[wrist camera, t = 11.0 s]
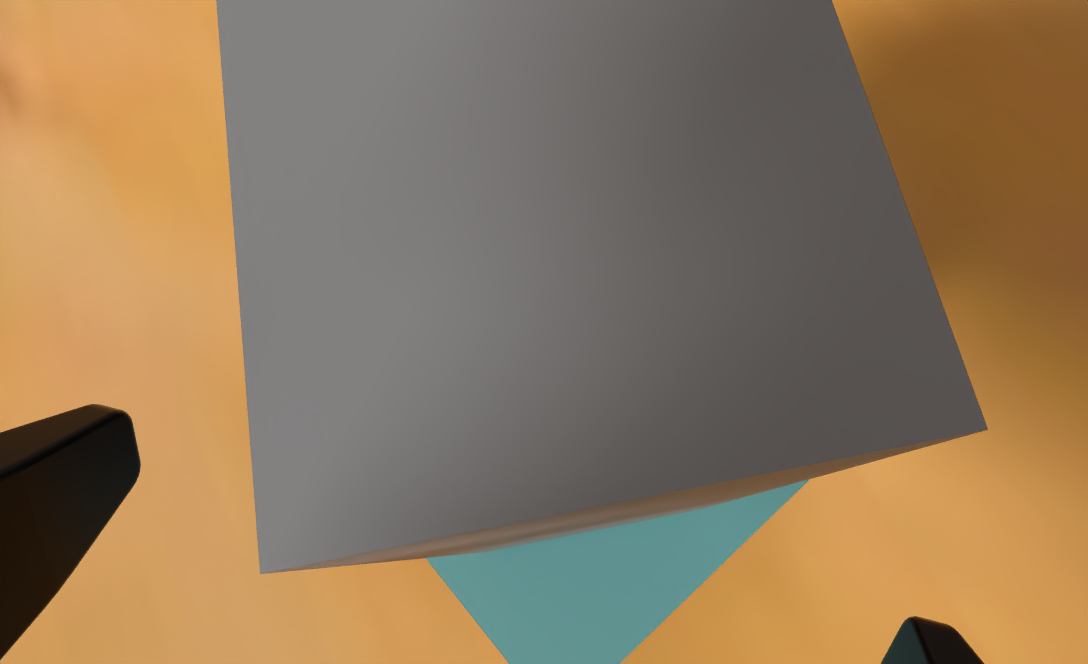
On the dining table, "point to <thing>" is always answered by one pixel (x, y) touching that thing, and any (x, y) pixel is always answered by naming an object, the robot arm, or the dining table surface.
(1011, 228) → the dining table surface
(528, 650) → the teal slab
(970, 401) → the grey pillar block
